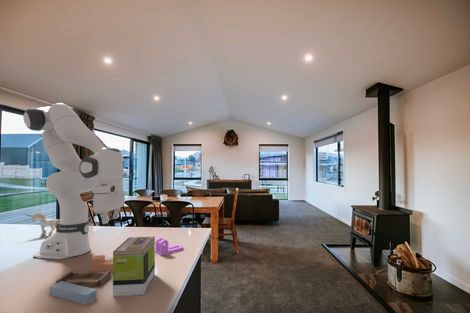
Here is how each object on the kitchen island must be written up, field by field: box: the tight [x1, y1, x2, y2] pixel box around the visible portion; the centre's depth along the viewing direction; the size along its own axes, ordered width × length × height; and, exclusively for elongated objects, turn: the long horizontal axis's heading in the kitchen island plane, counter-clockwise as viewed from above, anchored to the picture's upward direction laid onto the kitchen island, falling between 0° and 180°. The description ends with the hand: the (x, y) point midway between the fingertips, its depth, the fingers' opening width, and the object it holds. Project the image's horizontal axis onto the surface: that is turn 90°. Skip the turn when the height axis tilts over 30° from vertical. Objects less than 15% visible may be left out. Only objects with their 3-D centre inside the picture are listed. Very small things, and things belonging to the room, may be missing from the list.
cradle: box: [55, 271, 112, 287], centre depth 86 cm, size 15×8×2 cm, turn 93°
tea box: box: [112, 236, 156, 297], centre depth 84 cm, size 15×10×15 cm, turn 5°
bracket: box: [155, 237, 184, 257], centre depth 117 cm, size 13×6×7 cm, turn 135°
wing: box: [49, 281, 98, 305], centre depth 76 cm, size 16×4×3 cm, turn 70°
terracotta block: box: [90, 254, 113, 272], centre depth 96 cm, size 12×4×8 cm, turn 93°
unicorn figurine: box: [23, 212, 61, 237], centre depth 142 cm, size 7×20×13 cm, turn 100°
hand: (110, 220), depth 98 cm, fingers open, 8 cm apart
